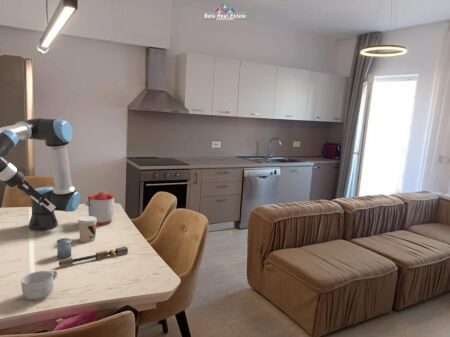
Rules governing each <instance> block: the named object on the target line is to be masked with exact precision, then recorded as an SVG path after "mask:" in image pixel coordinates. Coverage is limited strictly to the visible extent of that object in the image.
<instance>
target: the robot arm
mask: <svg viewBox="0 0 450 337" xmlns="http://www.w3.org/2000/svg"><path fill="white" fill-rule="evenodd" d="M73 134H74V133H73V128H72V125H71V124H70V123H69V121H67V120H64V119H59V118H57V119H56V118H42V117H40V118H39V117H36V118H31V119H30V118H29V119H26V120H21V121H17V122H15V124H12V125H5V126H2V127H0V181H3V183H4V184H5V185H6V186H8V187H9V188H14V187H16V188H18V190H20V191H22V192H23V193H25V194H26V195H27V196H29V197H30V200H31V217H30V218H29V223H28V229H29V230H32V231H49V230H51V229H52V230H53V229H55V228H57V227H58V226H59V224H58V219H57V217H56V214H55V211H59V212H67V213H68V212H72V213H73V212H75V211H76V210H77V209H79V208H78V207H79V205H80V203H81V194H80V192H79V191H76V187H75V186H74V185H73V183H72V176H71V170H70V163H69V162H70V161H69V155H68V145H69V144H70V142H71V140H72V139H73ZM19 140H22V141H26V140H35V141H36V140H37V141H44V145H45V147H47V148H49V150H48V151H49V155H50V161H51V167H52V168H51V169H52V173H53V175H52V176H53V182H54V186H41V187H37V188H34V187H33V186H32V185H30V183H29V182H28V181H25V180H24V178H25V176H26V175H25V173H24V172H22V171H21V170H20V169H18V168H17V166H15V164H13V163H12V162H10V161H9V160H8V159H7V157H8V155H9V154H10V153H11V152H12V151H13V149H15V148H16V146H17V144H18V143H19Z"/></svg>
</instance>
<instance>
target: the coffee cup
mask: <svg viewBox="0 0 450 337" xmlns="http://www.w3.org/2000/svg"><path fill="white" fill-rule="evenodd" d="M77 221H78V233H79V241H80V242H81V243H91V242H94V241H96V234H97V233H96V232H97V225H96V223H97V219H96V217H94V216H89V215H86V216H81V217H79V218H78V220H77Z"/></svg>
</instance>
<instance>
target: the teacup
mask: <svg viewBox="0 0 450 337" xmlns="http://www.w3.org/2000/svg"><path fill="white" fill-rule="evenodd" d="M57 277H58V272H57V270H56V269H51V270H38V271H34V272H30V273H27V274H26V275H23V277H21V278H20V284H21V292H22V295H23V297H24V298H26V299H28V300H29V301H39V300H43V299H45V298H47V297H48V296H49V295H50V294H51V293H52V292H53V291H54V281H55V280H56V278H57Z"/></svg>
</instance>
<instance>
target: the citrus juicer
mask: <svg viewBox="0 0 450 337" xmlns="http://www.w3.org/2000/svg"><path fill="white" fill-rule="evenodd" d="M87 198H88V199H87V201H86V202H85V204H84V207H88V216H94V217H96V219H97V223H96V226H106V225H109V224H111V223H112V221H113V218H114V214H115V195H114V194H111V193H104V192H103V191H100V192H99V193H93V194H90V195H88V197H87Z"/></svg>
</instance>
